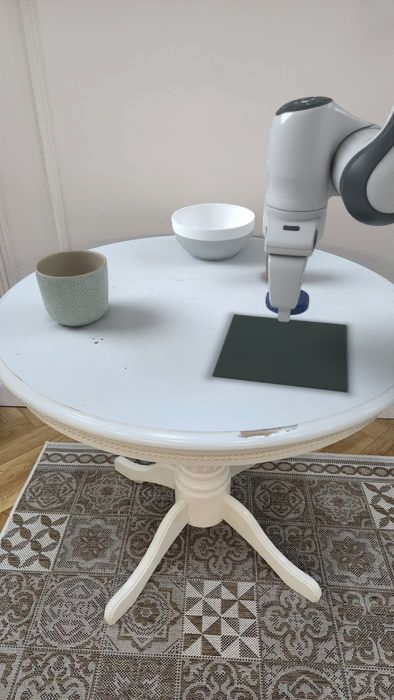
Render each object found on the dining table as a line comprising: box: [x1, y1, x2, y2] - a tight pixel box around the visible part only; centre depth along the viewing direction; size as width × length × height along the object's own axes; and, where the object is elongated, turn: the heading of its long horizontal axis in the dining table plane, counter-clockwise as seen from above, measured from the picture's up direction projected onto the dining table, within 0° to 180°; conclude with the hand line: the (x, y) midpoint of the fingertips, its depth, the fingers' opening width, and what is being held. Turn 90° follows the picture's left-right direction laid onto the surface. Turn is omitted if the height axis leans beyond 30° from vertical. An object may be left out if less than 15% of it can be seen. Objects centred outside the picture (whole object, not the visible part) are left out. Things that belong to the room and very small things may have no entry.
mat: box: [212, 313, 348, 393], centre depth 88 cm, size 20×20×1 cm
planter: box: [34, 249, 110, 328], centre depth 96 cm, size 12×12×11 cm
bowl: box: [171, 202, 256, 261], centre depth 122 cm, size 19×19×9 cm
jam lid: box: [264, 289, 310, 316], centre depth 83 cm, size 7×7×2 cm
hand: (286, 307), depth 84 cm, fingers closed on jam lid, 6 cm apart
